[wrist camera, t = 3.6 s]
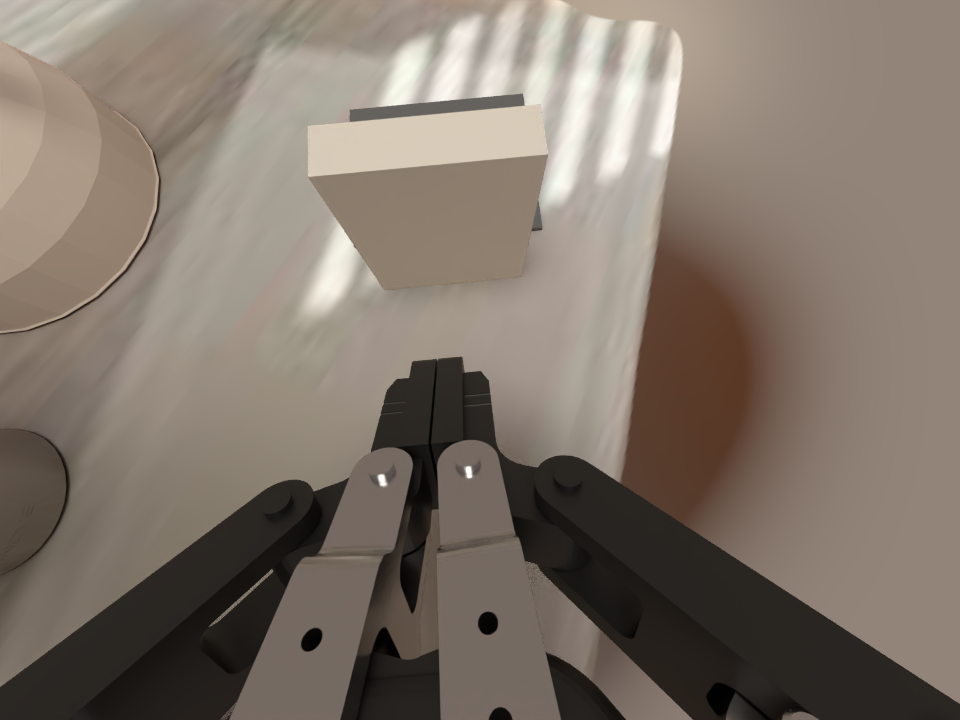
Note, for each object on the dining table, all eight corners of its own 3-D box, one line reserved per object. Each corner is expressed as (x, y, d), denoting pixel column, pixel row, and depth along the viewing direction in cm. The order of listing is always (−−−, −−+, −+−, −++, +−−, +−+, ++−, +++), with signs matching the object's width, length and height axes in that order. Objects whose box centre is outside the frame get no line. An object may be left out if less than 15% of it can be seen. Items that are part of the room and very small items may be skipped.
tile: (521, 276, 27) (548, 154, 16) (384, 290, 27) (307, 176, 16) (516, 243, 28) (539, 100, 16) (383, 256, 28) (308, 122, 16)
